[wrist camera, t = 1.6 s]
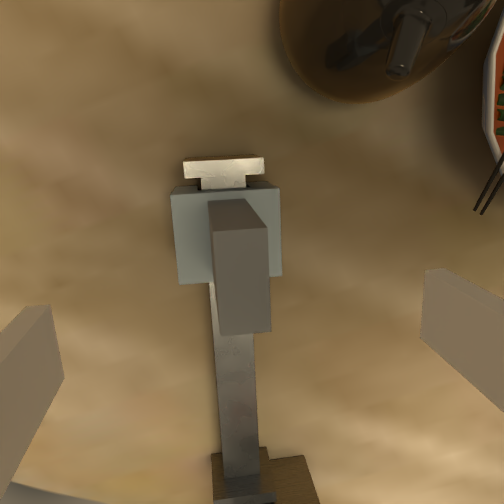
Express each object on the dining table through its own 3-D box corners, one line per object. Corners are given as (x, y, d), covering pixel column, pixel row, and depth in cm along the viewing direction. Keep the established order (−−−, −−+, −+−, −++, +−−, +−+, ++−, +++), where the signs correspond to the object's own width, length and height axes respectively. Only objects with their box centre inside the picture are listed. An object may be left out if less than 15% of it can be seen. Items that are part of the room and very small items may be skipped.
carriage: (268, 181, 31) (318, 212, 18) (270, 257, 33) (318, 336, 20) (173, 186, 30) (157, 224, 18) (181, 264, 32) (171, 351, 19)
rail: (253, 154, 31) (263, 157, 26) (266, 456, 38) (276, 501, 33) (185, 157, 30) (183, 162, 26) (211, 463, 38) (214, 510, 33)
